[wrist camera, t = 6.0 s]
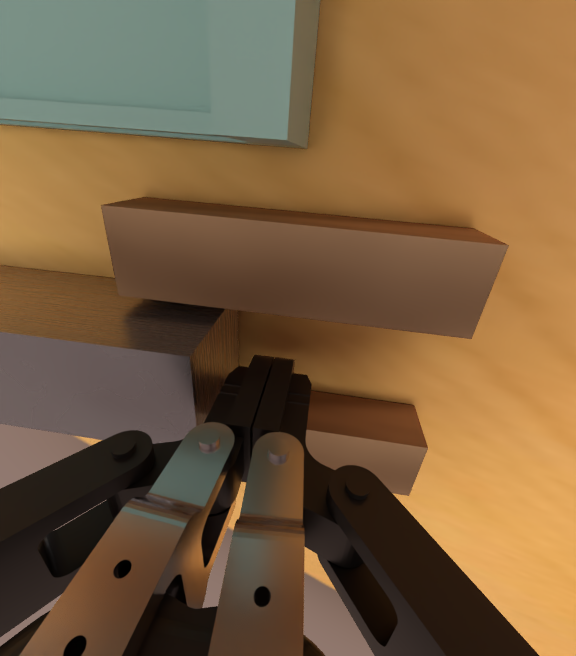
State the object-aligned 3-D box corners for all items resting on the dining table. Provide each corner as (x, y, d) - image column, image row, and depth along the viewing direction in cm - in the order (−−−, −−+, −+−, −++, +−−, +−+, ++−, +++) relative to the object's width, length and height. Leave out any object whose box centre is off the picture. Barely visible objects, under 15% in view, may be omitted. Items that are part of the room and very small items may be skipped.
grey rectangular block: (-22, 263, 14) (-180, 308, 10) (237, 292, 13) (189, 356, 9) (9, 339, 16) (-112, 405, 12) (238, 370, 15) (199, 455, 11)
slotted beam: (143, 196, 12) (100, 205, 10) (474, 228, 11) (508, 245, 9) (172, 415, 17) (148, 452, 15) (399, 450, 16) (408, 495, 14)
